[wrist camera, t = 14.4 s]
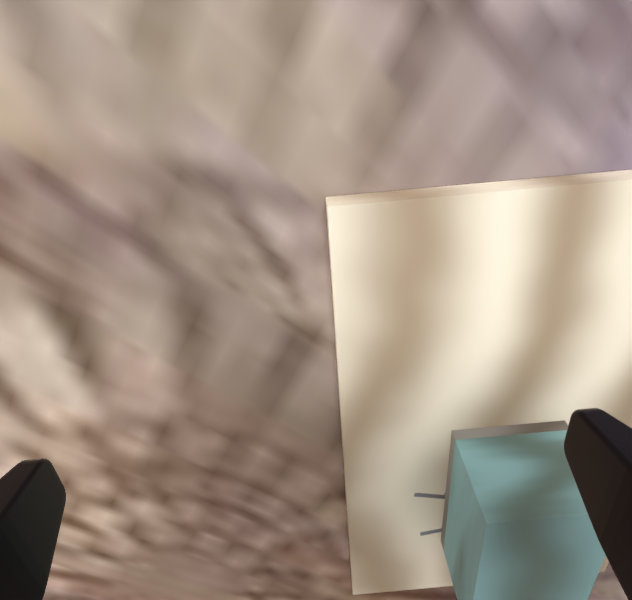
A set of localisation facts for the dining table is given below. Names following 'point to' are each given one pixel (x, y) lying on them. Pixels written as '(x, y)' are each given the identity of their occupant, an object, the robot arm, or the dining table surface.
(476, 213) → the board
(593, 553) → the block
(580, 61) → the dining table surface
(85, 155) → the dining table surface
